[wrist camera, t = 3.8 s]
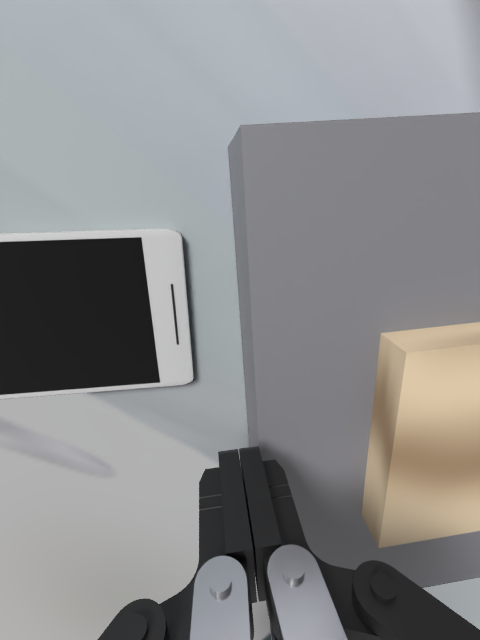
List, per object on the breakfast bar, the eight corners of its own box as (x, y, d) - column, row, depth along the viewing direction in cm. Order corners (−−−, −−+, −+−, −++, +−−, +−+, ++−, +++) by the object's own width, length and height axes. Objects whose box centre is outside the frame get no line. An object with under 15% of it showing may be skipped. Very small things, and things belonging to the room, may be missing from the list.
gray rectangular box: (228, 147, 12) (240, 125, 8) (563, 127, 13) (705, 100, 10) (255, 539, 20) (268, 616, 16) (462, 505, 21) (517, 570, 18)
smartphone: (-242, 239, 12) (-278, 243, 11) (182, 226, 13) (180, 229, 12) (-151, 401, 14) (-174, 415, 14) (194, 375, 16) (194, 385, 15)
